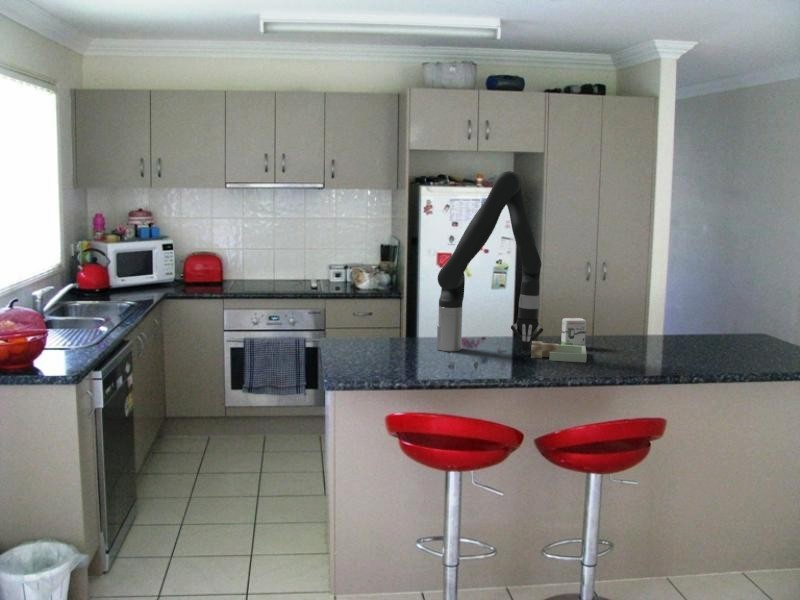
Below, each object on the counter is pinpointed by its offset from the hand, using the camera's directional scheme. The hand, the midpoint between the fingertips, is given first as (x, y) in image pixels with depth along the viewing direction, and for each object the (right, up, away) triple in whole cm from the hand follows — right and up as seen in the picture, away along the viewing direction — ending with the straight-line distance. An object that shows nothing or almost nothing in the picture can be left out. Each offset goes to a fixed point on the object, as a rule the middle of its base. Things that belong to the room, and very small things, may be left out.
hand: (525, 350), depth 328 cm
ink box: (+21, 0, +15) cm, 26 cm away
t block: (+6, -2, -1) cm, 7 cm away
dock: (+16, -2, -3) cm, 16 cm away
